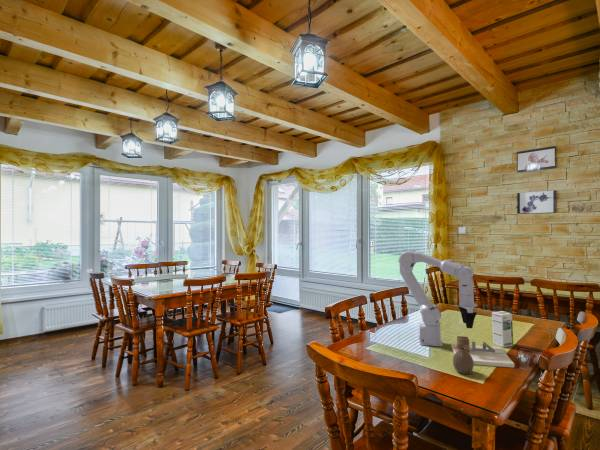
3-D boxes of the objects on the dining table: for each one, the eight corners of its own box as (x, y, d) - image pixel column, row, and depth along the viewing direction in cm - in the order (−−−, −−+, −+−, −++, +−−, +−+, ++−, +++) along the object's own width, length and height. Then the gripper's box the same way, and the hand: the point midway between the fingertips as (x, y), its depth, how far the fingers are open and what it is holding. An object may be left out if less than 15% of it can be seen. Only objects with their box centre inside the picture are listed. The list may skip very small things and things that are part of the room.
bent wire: (473, 357, 136) (472, 348, 136) (468, 349, 145) (468, 341, 145) (495, 359, 134) (495, 350, 134) (489, 350, 142) (489, 342, 142)
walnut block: (459, 351, 142) (458, 339, 142) (457, 347, 146) (457, 336, 146) (469, 351, 141) (469, 339, 141) (467, 348, 145) (467, 336, 145)
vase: (467, 367, 130) (466, 344, 130) (477, 375, 123) (476, 351, 123) (449, 368, 130) (449, 345, 130) (458, 376, 123) (458, 352, 123)
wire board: (458, 363, 134) (458, 359, 134) (451, 347, 151) (451, 343, 151) (514, 367, 129) (514, 363, 129) (500, 350, 146) (500, 346, 146)
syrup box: (503, 347, 149) (502, 314, 149) (492, 343, 155) (491, 311, 155) (513, 346, 151) (512, 313, 151) (502, 341, 157) (501, 310, 157)
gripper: (480, 297, 141) (481, 330, 141) (472, 291, 155) (474, 321, 154) (461, 297, 143) (463, 330, 142) (456, 291, 157) (457, 320, 156)
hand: (467, 325), depth 149 cm, fingers open, 7 cm apart
